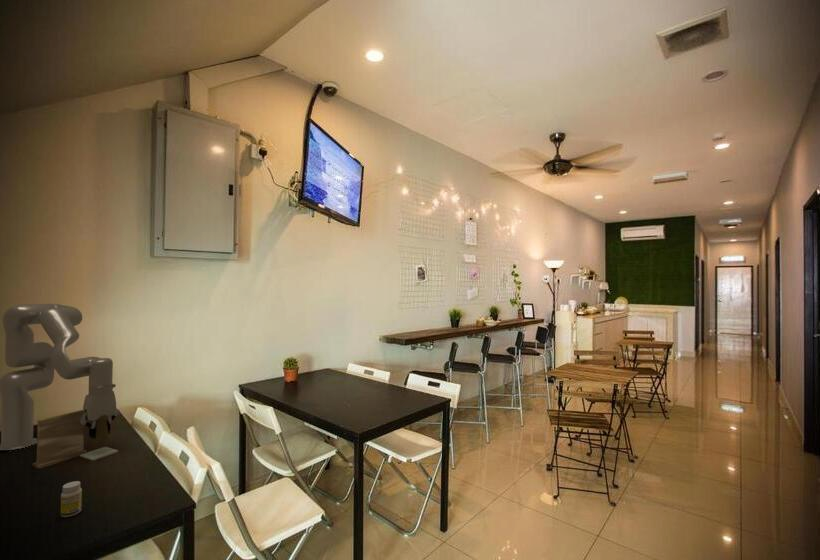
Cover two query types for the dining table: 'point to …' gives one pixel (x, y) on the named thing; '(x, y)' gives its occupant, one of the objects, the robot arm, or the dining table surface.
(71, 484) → the supplement bottle
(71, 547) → the dining table surface
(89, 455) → the coaster
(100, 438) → the cork
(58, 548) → the dining table surface
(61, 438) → the wooden board
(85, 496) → the dining table surface
